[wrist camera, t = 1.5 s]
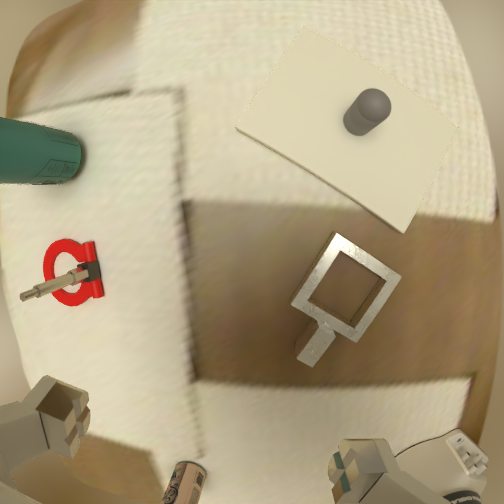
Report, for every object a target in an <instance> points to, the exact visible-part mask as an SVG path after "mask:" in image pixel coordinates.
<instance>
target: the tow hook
mask: <svg viewBox="0 0 504 504" xmlns="http://www.w3.org/2000/svg"><path fill="white" fill-rule="evenodd" d="M61 252H68V253H70V254H71V255H72V256H74V257H75V259H76V260H77V261H78V262H84V263H81V264H78V265H77V267H78V268H76V269H73V270H70V271H68V272H67V274H65V275H62V276H60V277H57V278H55V275H54V262H55V259H56V257H57V256H58V254H60V253H61ZM43 273H44V277H45V282H43V283H41V284H38V285H35V286H34V287H33V289H31V290H28V291H26V292H23V293H21V294H20V299H21V300H22V301H26V300H28V299H31V298H33V297H37V298H39V297H41V296H44V295H46V294H49V293H52V295H53V296H54V297H55V298H56V299H57V300H58V301H59V302H61V303H63V304H64V305H68V306H78V305H80V304H82V303H83V302H85V301H86V300H87V299H88V298H89V297H93V298H100V297H103V296H104V295H103V291H102V286H101V281H100V272H99V267H98V262H97V260H96V256H95V250H94V244H93V242H91V241H90V242H85V243H83V244H82V245H79V244H78V243H77V242H75V241H73V240H70V239H62V240H58V241H55V242H54V243H52V244H51V245H50V246H49V248H48V249H47V251H46V254H45V256H44V262H43ZM78 283H82V284H81V287H80V289H79V290H78V291H77V293H73V294H71V293H67V292H66V291H64V290H63V289H62V288H63V287H65V286H68V285H72V286H73V285H76V284H78Z"/></svg>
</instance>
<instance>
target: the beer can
mask: <svg viewBox="0 0 504 504" xmlns="http://www.w3.org/2000/svg"><path fill="white" fill-rule="evenodd" d="M205 478H206V473H205V471H204V470H203V469H202V468H201V467H199V466H197V465H195V464H192V463H179V464H177V465H176V467H175V470H174V472H173V475H172V477H171V480H170V482H169V485H168V487H167V490H166V492H165V495H164V497H163V500H162V502H161V504H198V501H199V498H200V494H201V491H202V487H203V484H204V480H205Z"/></svg>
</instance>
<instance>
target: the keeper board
mask: <svg viewBox="0 0 504 504" xmlns="http://www.w3.org/2000/svg"><path fill="white" fill-rule="evenodd" d="M235 128H236V129H237V131H239V132H241V133H243V134H245V135H247V136H248V137H250V138H252V139H254V140H256V141H257V142H259V143H261V144H263V145H264V146H266V147H268V148H270V149H271V150H273V151H275V152H276V153H278V154H280V155H282V156H283V157H285V158H287V159H288V160H290V161H292V162H293V163H295V164H297V165H298V166H300V167H302V168H303V169H305V170H306V171H308V172H310V173H311V174H313V175H315V176H316V177H318V178H319V179H321V180H322V181H324V182H326V183H327V184H329V185H330V186H332V187H333V188H335V189H337V190H338V191H340V192H341V193H343V194H344V195H346V196H347V197H349V198H350V199H352V200H353V201H355V202H356V203H358V204H359V205H361V206H362V207H364V208H365V209H366V210H368V211H369V212H371V213H372V214H374V215H375V216H377V217H378V218H379V219H381V220H382V221H384V222H385V223H387V224H388V225H389V226H391V227H392V228H394V229H395V230H396V231H398V232H400V233H403V234H404V232H405V230H406V229H407V227H408V225H409V224H410V222H411V220H412V218H413V217H414V215H415V213H416V211H417V209H418V208H419V206H420V204H421V202H422V200H423V198H424V197H425V195H426V193H427V191H428V189H429V187H430V185H431V183H432V181H433V180H434V178H435V176H436V174H437V172H438V170H439V168H440V166H441V164H442V162H443V160H444V158H445V156H446V153H447V151H448V149H449V147H450V145H451V143H452V141H453V139H454V136H455V134H456V132H457V130H458V128H459V127H458V126H456V125H455V124H454V123H453V122H452V121H450V120H449V119H448V118H447V117H446V116H444V115H443V114H442V113H441V112H440V111H438V110H437V109H436V108H435V107H433V106H432V105H431V104H429V103H428V102H427V101H426V100H424V99H423V98H422V97H420V96H419V95H418V94H416V93H415V92H414V91H412V90H411V89H409V88H408V87H407V86H405V85H404V84H402V83H401V82H400V81H398V80H397V79H395V78H394V77H392V76H391V75H389V74H388V73H386V72H385V71H383V70H382V69H380V68H379V67H377V66H375V65H374V64H372V63H371V62H369V61H367V60H366V59H364V58H362V57H361V56H359V55H357V54H356V53H354V52H352V51H351V50H349V49H347V48H345V47H344V46H342V45H340V44H338V43H336V42H334V41H333V40H331V39H329V38H327V37H325V36H323V35H321V34H319V33H317V32H315V31H313V30H311V29H309V28H307V27H305V26H304V27H303V28H302V29H301V31H300V32H299V33H298V35H297V36H296V38H295V39H294V40H293V42H292V43H291V45H290V46H289V47H288V49H287V50H286V52H285V53H284V54H283V56H282V57H281V59H280V60H279V62H278V63H277V64H276V66H275V67H274V69H273V70H272V72H271V73H270V75H269V76H268V78H267V79H266V81H265V82H264V84H263V85H262V87H261V88H260V90H259V91H258V93H257V94H256V96H255V97H254V99H253V100H252V102H251V103H250V105H249V106H248V108H247V109H246V111H245V112H244V114H243V116H242V117H241V119H240V120H239V122H238V123H237V125H236V127H235Z"/></svg>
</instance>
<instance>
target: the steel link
mask: <svg viewBox="0 0 504 504" xmlns="http://www.w3.org/2000/svg"><path fill="white" fill-rule="evenodd" d="M340 250H341V251H343V252H344V253H346V254H347V255H349V256H350V257H352V258H353V259H355V260H356V261H358V262H359V263H361V264H362V265H364V266H365V267H367V268H368V269H370V270H372V271H373V272H375V273H376V274H378V275H379V276H381V278H380V279H379V281H378V282H377V284H376V285H375V287H374V288H373V290H372V291H371V293H370V294H369V296H368V297H367V299H366V300H365V302H364V303H363V305H362V306H361V308H360V309H359V311H358V312H357V314H356V315H355V316H354V318H353V319H352V321H351V322H350V321H348V320H346V319H345V318H343V317H341V316H340V315H338V314H336V313H335V312H333V311H331V310H329V309H328V308H326V307H324V306H323V305H321V304H319V303H318V302H316V301H314V300H313V299H311V298H309V297H310V296H311V294H312V293H313V291H314V290H315V288H316V287H317V285H318V284H319V282H320V281H321V279H322V278H323V276H324V275H325V273H326V272H327V270H328V269H329V267H330V265H331V264H332V262H333V261H334V259H335V258H336V256H337V254H338V253H339V251H340ZM400 279H401V276H400V275H398V274H397V273H396V272H394V271H393V270H391V269H390V268H388V267H387V266H385V265H384V264H382V263H381V262H380V261H378V260H377V259H375V258H374V257H372V256H371V255H369V254H368V253H366V252H365V251H363V250H362V249H360V248H359V247H357V246H356V245H354V244H353V243H351V242H350V241H348V240H347V239H345V238H344V237H342V236H340V235H339V234H337V233H336V232H334V231H333V233H332V234H331V236H330V237H329V239H328V241H327V242H326V244H325V245H324V247H323V249H322V250H321V252H320V253H319V255H318V256H317V258H316V260H315V261H314V263H313V264H312V266H311V267H310V269H309V271H308V272H307V274H306V275H305V277H304V278H303V280H302V281H301V283H300V284H299V286H298V287H297V289H296V290H295V292H294V293H293V295H292V297H291V298H290V304H291V305H292V306H294V307H295V308H297V309H299V310H301V311H302V312H304V313H306V314H307V315H309V316H311V317H312V318H311V320H310V321H309V323H308V324H307V326H306V327H305V328H304V330H303V331H302V333H301V334H300V335H299V337H298V338H297V340H296V341H295V352H296V359H297V360H299V361H301V362H303V363H305V364H307V365H309V366H310V367H312V368H313V366H314V365H315V364H316V362H317V361H318V360H319V358H320V357H321V356H322V355H323V353H324V352H325V351H326V349H327V348H328V347H329V345H330V344H331V343H332V341H333V340H334V338H335V334H334V331H333V330H335V331H337V332H338V333H340V334H342V335H343V336H345V337H347V338H349V339H350V340H352V341H354V342H356V343H357V341H358V340H359V339H360V337H361V336H362V335H363V333H364V332H365V331H366V329H367V328H368V326H369V325H370V324H371V322H372V321H373V319H374V318H375V316H376V315H377V314H378V312H379V311H380V309H381V308H382V306H383V305H384V303H385V302H386V300H387V299H388V297H389V296H390V294H391V293H392V291H393V290H394V288H395V287H396V285H397V284H398V282H399V280H400Z"/></svg>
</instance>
